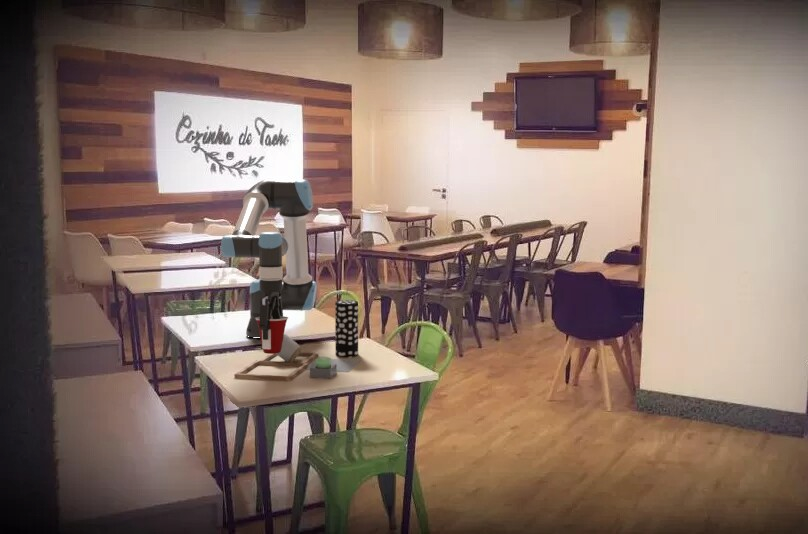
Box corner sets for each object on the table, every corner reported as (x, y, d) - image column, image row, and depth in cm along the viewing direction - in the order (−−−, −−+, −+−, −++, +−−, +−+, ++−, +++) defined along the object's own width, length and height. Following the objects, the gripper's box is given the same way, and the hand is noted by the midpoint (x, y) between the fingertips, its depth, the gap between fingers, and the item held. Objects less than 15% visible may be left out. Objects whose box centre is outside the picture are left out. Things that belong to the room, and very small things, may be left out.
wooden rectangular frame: (272, 354, 290) (272, 350, 289) (321, 357, 286) (321, 353, 286) (234, 378, 256) (234, 374, 256) (289, 382, 253) (289, 377, 253)
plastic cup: (289, 347, 269) (288, 313, 267) (287, 355, 258) (287, 319, 257) (257, 348, 268) (256, 313, 266) (254, 355, 257) (253, 319, 256)
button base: (316, 373, 264) (316, 363, 263) (336, 374, 263) (336, 364, 262) (309, 378, 257) (309, 368, 257) (330, 379, 256) (330, 369, 255)
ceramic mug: (287, 368, 276) (293, 354, 272) (269, 354, 278) (274, 340, 273) (304, 351, 285) (310, 338, 280) (286, 339, 286) (291, 325, 281)
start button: (318, 363, 262) (318, 356, 262) (332, 364, 261) (332, 357, 261) (313, 367, 257) (313, 360, 257) (328, 368, 256) (328, 361, 256)
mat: (317, 359, 283) (317, 358, 283) (360, 361, 280) (360, 360, 280) (303, 370, 267) (303, 369, 267) (348, 373, 264) (348, 371, 264)
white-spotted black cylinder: (332, 354, 290) (332, 301, 288) (354, 352, 293) (354, 299, 291) (339, 359, 283) (339, 304, 280) (361, 357, 286) (361, 303, 283)
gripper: (272, 274, 271) (272, 338, 274) (247, 283, 250) (248, 352, 253) (292, 275, 269) (293, 339, 272) (269, 284, 248) (270, 353, 251)
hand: (271, 345), depth 263 cm, fingers closed on plastic cup, 9 cm apart
